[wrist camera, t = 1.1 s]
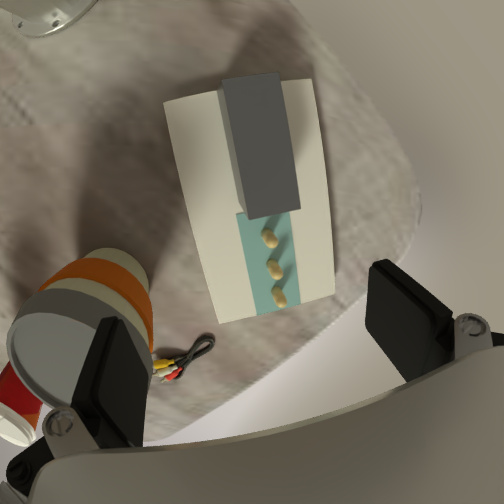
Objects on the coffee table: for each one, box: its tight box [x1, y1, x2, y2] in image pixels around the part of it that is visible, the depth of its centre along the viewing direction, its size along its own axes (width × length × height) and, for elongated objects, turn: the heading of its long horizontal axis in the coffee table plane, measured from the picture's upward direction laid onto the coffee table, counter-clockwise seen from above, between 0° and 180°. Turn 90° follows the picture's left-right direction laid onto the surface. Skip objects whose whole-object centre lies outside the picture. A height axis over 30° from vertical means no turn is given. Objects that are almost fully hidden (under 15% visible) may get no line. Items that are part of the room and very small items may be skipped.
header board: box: [163, 79, 335, 324], centre depth 28 cm, size 24×14×5 cm, turn 10°
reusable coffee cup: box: [6, 248, 153, 409], centre depth 24 cm, size 13×12×15 cm
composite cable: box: [152, 336, 214, 382], centre depth 36 cm, size 10×5×2 cm, turn 115°
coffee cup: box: [0, 360, 43, 447], centre depth 26 cm, size 8×8×15 cm
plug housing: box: [217, 72, 301, 220], centre depth 23 cm, size 11×4×6 cm, turn 10°
